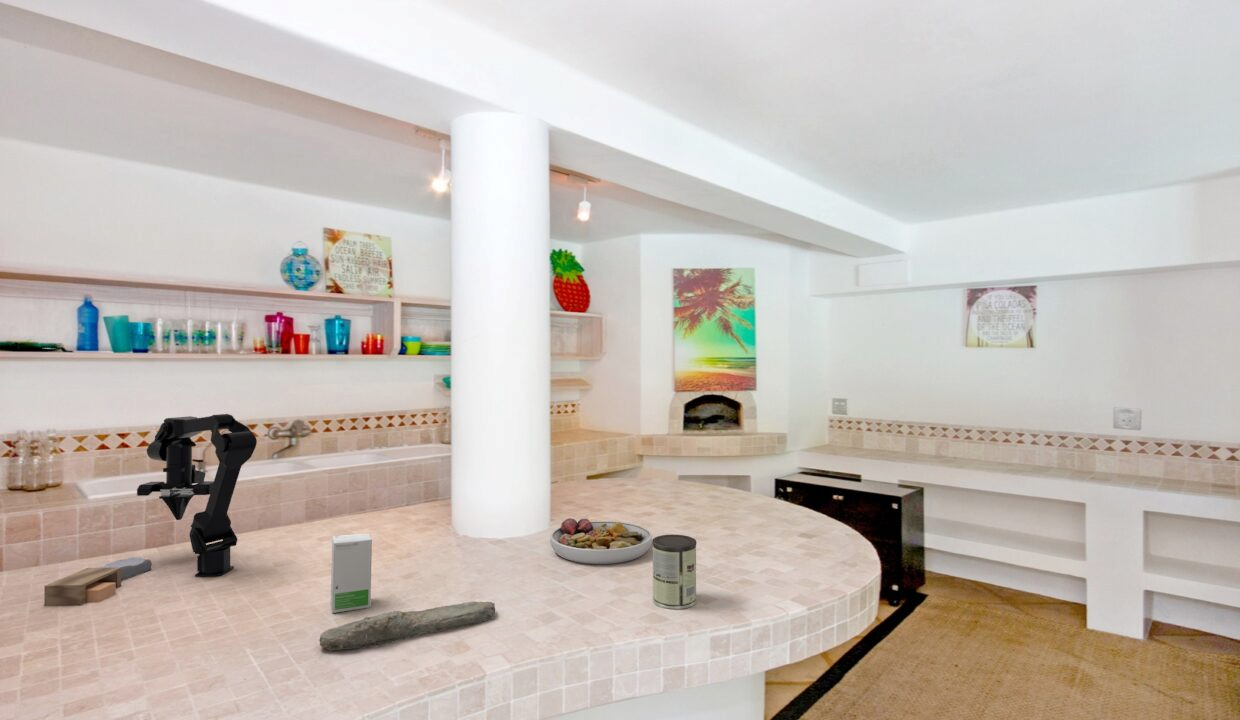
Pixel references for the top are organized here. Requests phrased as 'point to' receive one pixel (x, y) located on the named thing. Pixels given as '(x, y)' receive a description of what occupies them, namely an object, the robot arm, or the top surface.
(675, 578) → the coffee can
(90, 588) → the peach cardboard box
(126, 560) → the stone block
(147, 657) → the top surface
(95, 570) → the shelf
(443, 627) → the elongated rock
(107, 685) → the top surface
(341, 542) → the skincare box
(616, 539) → the bowl
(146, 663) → the top surface
